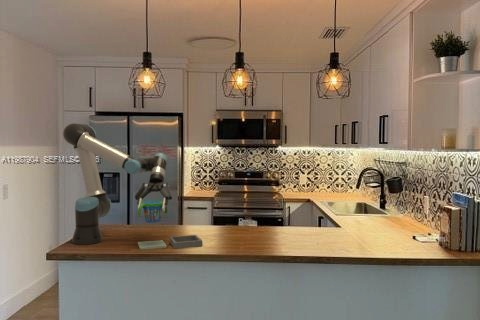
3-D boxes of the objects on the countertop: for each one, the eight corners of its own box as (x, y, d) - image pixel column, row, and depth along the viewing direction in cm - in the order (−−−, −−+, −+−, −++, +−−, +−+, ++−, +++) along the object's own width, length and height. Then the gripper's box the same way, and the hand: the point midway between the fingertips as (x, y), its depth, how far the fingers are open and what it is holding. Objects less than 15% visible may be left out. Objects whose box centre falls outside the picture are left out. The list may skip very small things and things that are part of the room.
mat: (140, 249, 203) (140, 247, 203) (137, 243, 215) (137, 242, 215) (166, 247, 207) (166, 245, 207) (162, 241, 220) (162, 240, 220)
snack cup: (163, 217, 219) (163, 199, 219) (171, 221, 210) (170, 201, 210) (135, 221, 211) (134, 202, 210) (141, 225, 202) (141, 205, 201)
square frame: (174, 248, 205) (174, 242, 205) (169, 242, 218) (169, 236, 218) (202, 246, 210) (202, 240, 210) (195, 240, 223) (195, 234, 223)
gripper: (180, 181, 225) (175, 213, 211) (136, 181, 226) (129, 214, 211) (178, 172, 220) (173, 205, 205) (133, 172, 220) (126, 205, 205)
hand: (151, 209), depth 208 cm, fingers closed on snack cup, 12 cm apart
